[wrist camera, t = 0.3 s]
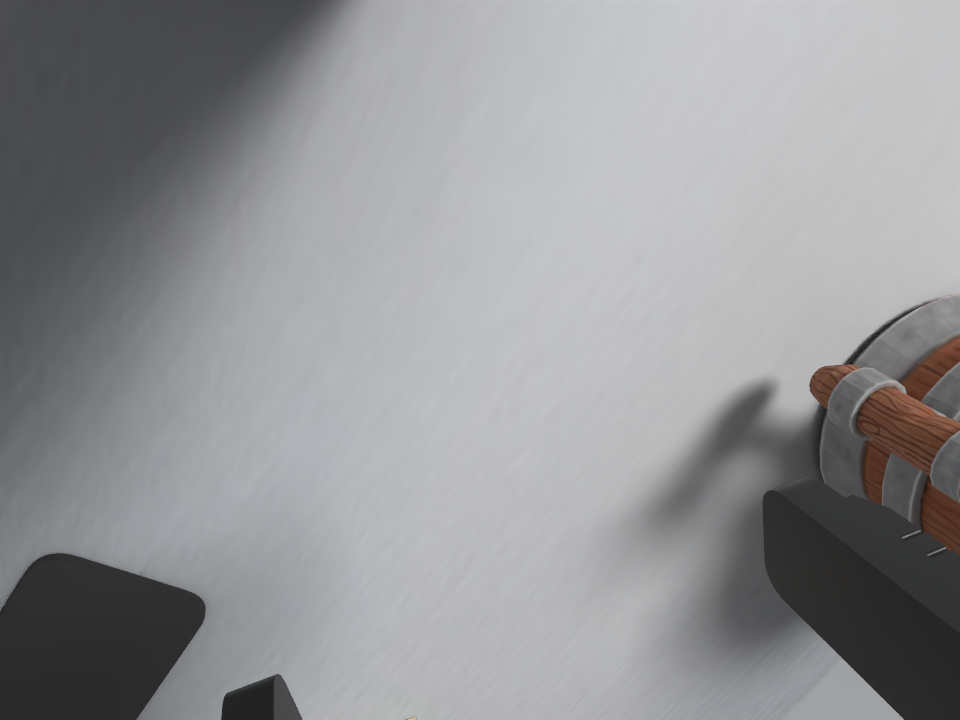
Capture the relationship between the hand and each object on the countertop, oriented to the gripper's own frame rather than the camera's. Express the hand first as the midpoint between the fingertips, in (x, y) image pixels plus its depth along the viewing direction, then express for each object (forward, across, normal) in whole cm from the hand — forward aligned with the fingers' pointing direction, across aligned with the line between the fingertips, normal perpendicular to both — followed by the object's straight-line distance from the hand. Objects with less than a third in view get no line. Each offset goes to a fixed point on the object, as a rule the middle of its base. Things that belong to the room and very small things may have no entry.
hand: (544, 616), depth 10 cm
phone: (+19, +19, +14) cm, 30 cm away
